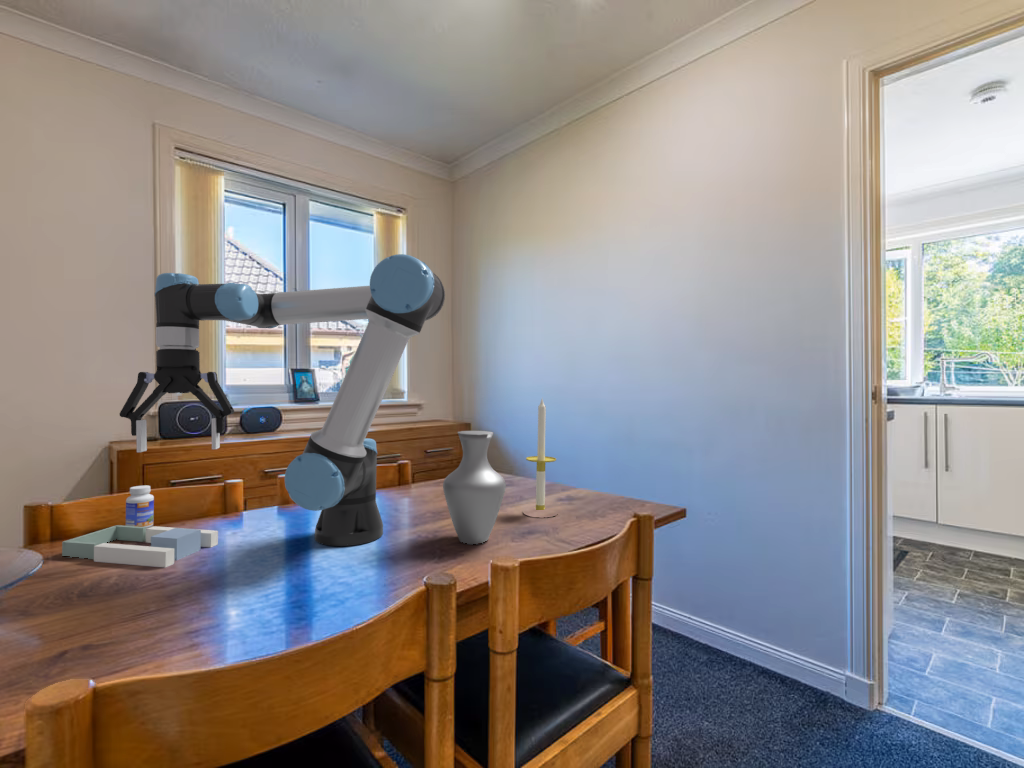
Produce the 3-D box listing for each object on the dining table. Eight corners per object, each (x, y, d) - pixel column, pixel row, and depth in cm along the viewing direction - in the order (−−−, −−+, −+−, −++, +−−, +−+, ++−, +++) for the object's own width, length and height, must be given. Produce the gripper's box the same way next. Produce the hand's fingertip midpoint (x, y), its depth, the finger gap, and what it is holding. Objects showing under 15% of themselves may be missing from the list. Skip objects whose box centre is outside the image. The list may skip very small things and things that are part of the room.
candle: (534, 506, 144) (536, 396, 144) (564, 512, 138) (566, 397, 138) (515, 514, 136) (517, 396, 136) (545, 520, 130) (548, 398, 130)
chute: (217, 544, 107) (218, 530, 107) (165, 567, 94) (165, 551, 94) (153, 539, 110) (153, 526, 110) (93, 561, 96) (93, 546, 96)
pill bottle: (138, 531, 115) (138, 490, 115) (119, 529, 116) (120, 488, 116) (159, 524, 121) (159, 485, 121) (141, 523, 122) (141, 484, 122)
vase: (517, 540, 114) (519, 432, 114) (471, 555, 103) (473, 437, 103) (475, 526, 124) (477, 427, 123) (429, 539, 113) (431, 431, 113)
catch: (146, 540, 109) (146, 527, 109) (94, 559, 98) (94, 544, 98) (116, 538, 110) (116, 525, 110) (62, 556, 99) (62, 541, 99)
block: (200, 550, 104) (200, 529, 104) (176, 561, 98) (177, 538, 98) (175, 548, 105) (175, 527, 105) (150, 558, 99) (150, 536, 99)
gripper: (248, 350, 110) (249, 445, 110) (117, 349, 103) (118, 450, 103) (239, 348, 103) (240, 449, 103) (97, 347, 96) (99, 455, 96)
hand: (179, 450), depth 103 cm, fingers open, 13 cm apart
